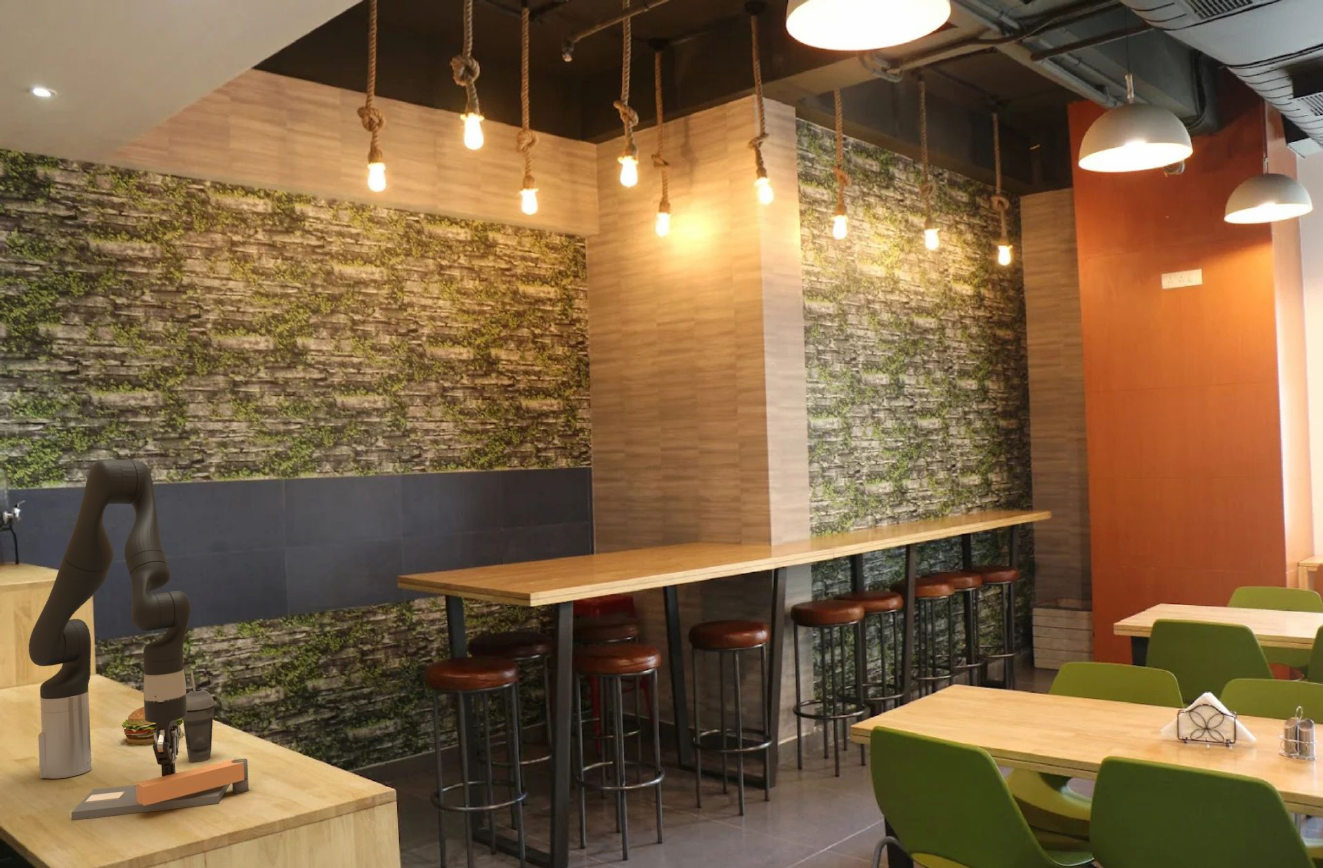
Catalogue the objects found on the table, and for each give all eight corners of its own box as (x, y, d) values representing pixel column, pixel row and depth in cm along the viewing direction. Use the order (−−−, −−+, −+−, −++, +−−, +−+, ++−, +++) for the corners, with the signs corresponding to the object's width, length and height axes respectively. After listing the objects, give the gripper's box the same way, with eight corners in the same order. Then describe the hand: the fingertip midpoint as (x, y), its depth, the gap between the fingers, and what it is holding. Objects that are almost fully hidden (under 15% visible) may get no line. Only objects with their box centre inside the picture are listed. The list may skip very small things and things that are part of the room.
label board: (71, 820, 199) (71, 808, 199) (93, 796, 213) (93, 785, 213) (242, 800, 206) (242, 789, 206) (253, 779, 219) (253, 768, 219)
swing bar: (243, 774, 215) (242, 757, 215) (251, 778, 212) (250, 760, 212) (136, 801, 200) (136, 782, 200) (144, 805, 198) (143, 786, 198)
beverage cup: (204, 764, 232) (200, 673, 233) (174, 763, 234) (171, 673, 234) (224, 754, 239) (220, 666, 240) (195, 753, 241) (192, 666, 241)
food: (119, 750, 247) (118, 716, 247) (124, 736, 260) (122, 704, 260) (184, 741, 253) (182, 708, 253) (185, 728, 266) (183, 696, 266)
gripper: (152, 688, 212) (156, 773, 212) (135, 704, 199) (139, 795, 199) (192, 684, 214) (196, 769, 214) (178, 700, 201) (182, 790, 201)
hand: (169, 782), depth 206 cm, fingers closed
